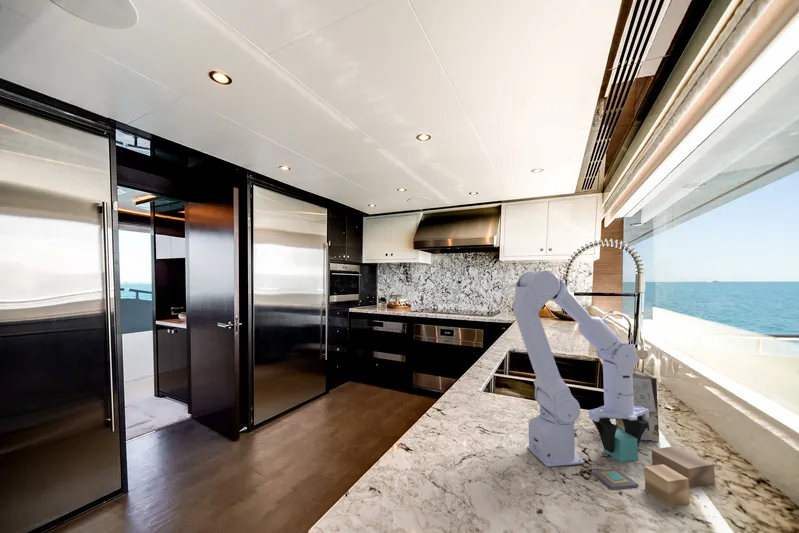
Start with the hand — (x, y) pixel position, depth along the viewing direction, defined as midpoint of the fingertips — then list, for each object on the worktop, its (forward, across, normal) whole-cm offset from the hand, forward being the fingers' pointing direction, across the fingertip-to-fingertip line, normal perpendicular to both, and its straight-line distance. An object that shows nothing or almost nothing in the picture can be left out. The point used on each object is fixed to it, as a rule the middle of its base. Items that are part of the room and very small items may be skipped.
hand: (620, 449), depth 70 cm
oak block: (+2, -3, -13) cm, 13 cm away
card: (+1, -9, -8) cm, 12 cm away
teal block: (+2, 0, 0) cm, 2 cm away
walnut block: (+2, +7, -8) cm, 11 cm away
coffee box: (+2, +14, +9) cm, 17 cm away
